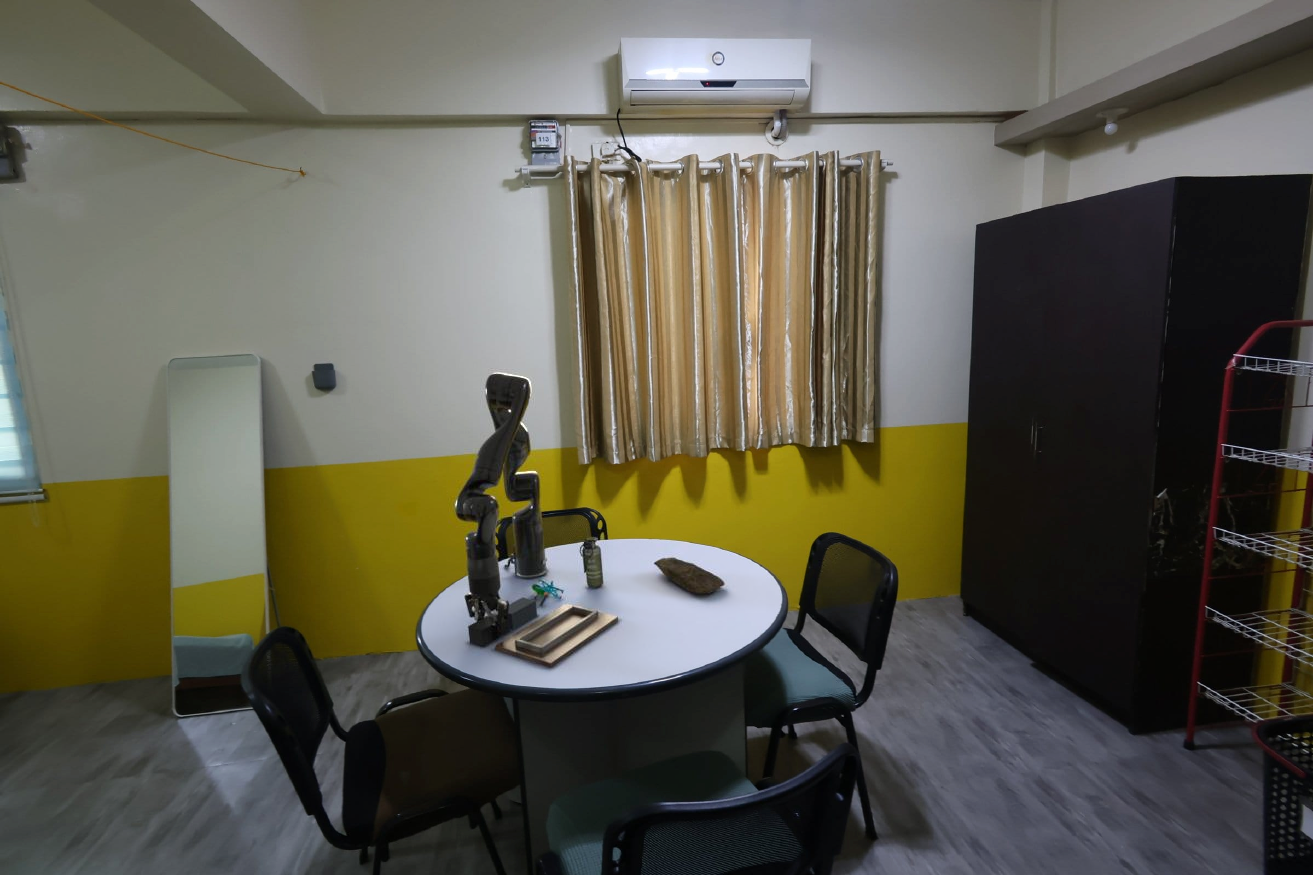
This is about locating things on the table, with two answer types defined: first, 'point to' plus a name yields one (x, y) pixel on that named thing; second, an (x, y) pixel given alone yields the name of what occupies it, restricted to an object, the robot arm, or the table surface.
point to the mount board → (556, 635)
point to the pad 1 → (485, 631)
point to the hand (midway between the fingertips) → (490, 635)
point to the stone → (689, 575)
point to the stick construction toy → (545, 590)
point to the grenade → (592, 562)
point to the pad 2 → (521, 612)
